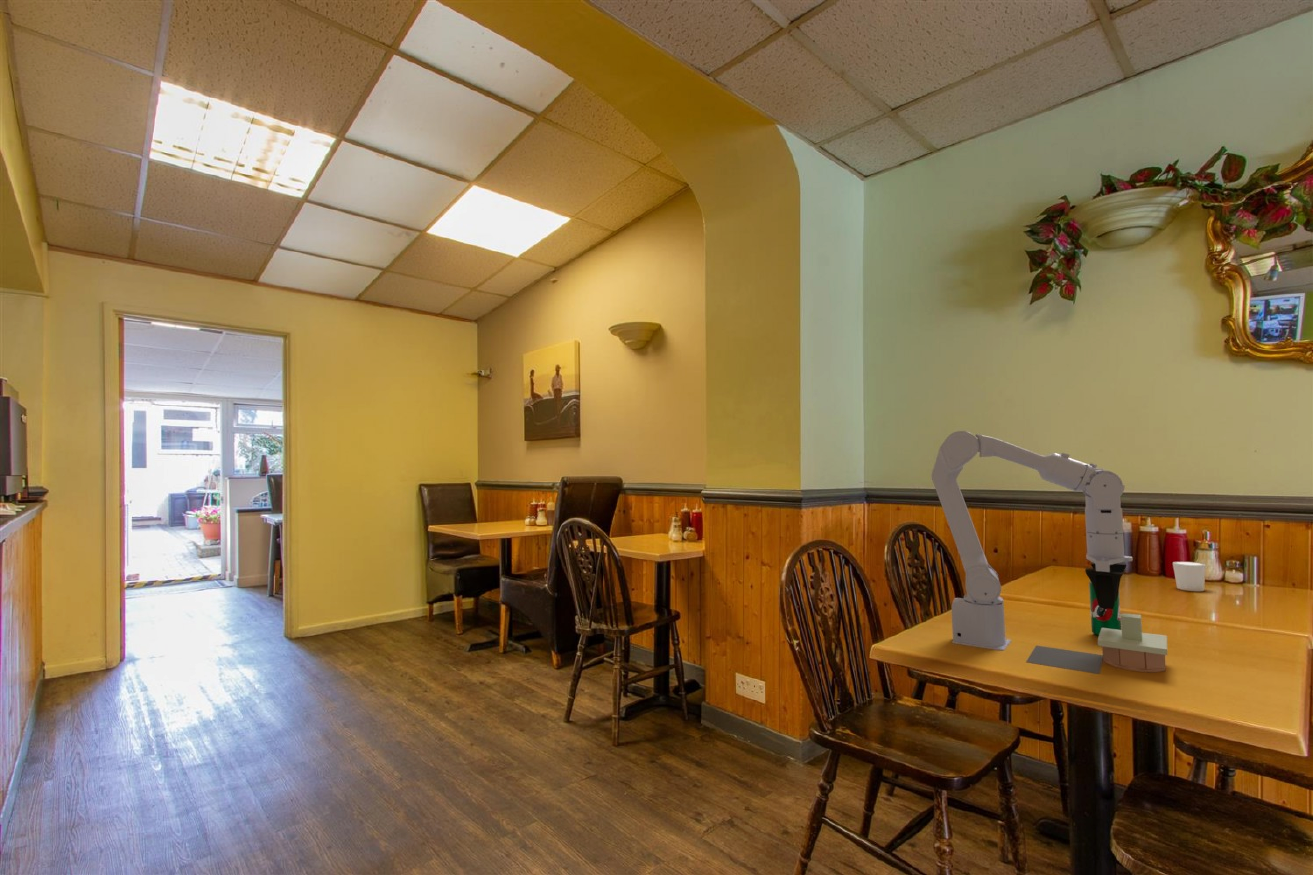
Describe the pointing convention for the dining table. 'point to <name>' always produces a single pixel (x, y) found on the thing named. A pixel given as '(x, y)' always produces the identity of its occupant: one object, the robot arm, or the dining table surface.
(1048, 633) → the dining table surface
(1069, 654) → the mat
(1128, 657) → the bowl
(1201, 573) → the white cup
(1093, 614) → the soda can
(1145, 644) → the cover
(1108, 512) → the robot arm
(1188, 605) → the dining table surface
